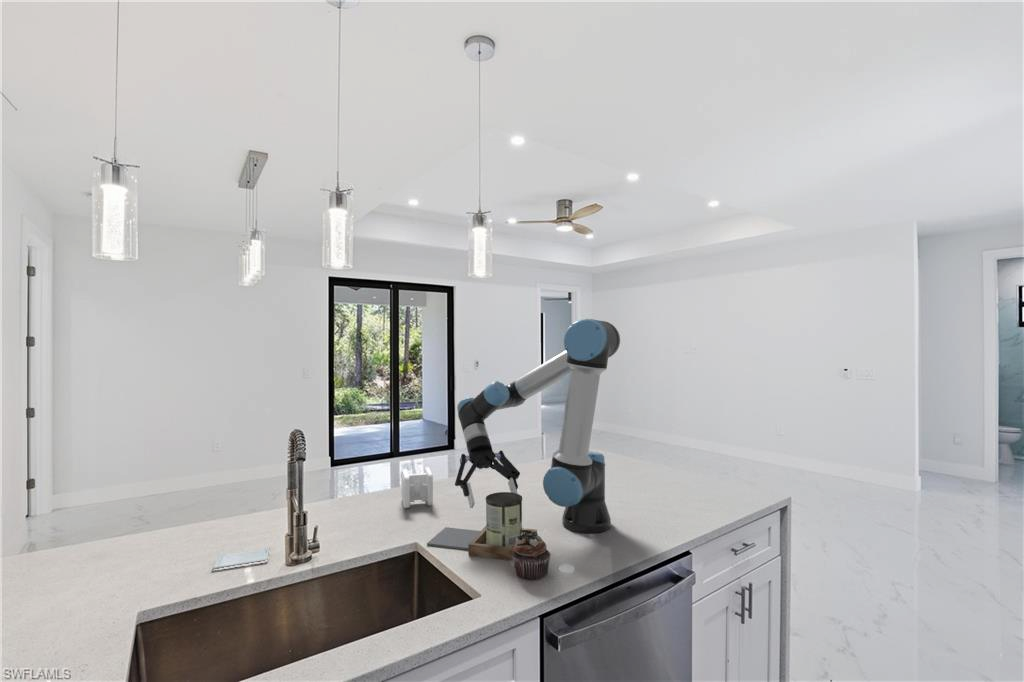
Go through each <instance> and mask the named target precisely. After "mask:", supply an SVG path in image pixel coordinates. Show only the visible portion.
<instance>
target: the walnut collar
mask: <svg viewBox="0 0 1024 682" xmlns="http://www.w3.org/2000/svg"><path fill="white" fill-rule="evenodd" d="M524 530H526V531H528V532H530V533H529V535H531V532H537V533H538V529H535V528H523V527H522V533H523V531H524ZM480 531H481V532H480V533H479V534H478V535H477V536H476V537H475V538H474V539H473V540H472V541H471V542H470V543H469V544H468V550H467V552H468V555H469V557H477V558H486V559H493V560H502V561H509V562H510V561H511V562H514V561H513V557H512V549H513V548H512V547H504V546H495V545H486V544H487V543H486V544H485V542H486V525H485V526H484V527H483V528H482V529H481V530H480Z"/></svg>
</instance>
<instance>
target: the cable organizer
mask: <svg viewBox="0 0 1024 682" xmlns="http://www.w3.org/2000/svg"><path fill="white" fill-rule="evenodd" d="M400 478H401V499H402V506H403V508H404V509H409V508H410V506H411V503H415V501H422V503H423V502H426V504H427V506H429V507H430V506H432V505H433V504H434V476H433V472H432V471H431V468H430V467H429V466H425V467H424V470H423V473H411V474H410V473H409V470H408V469H407V468H405V469H403V468H402V469H401V471H400Z"/></svg>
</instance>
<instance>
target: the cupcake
mask: <svg viewBox="0 0 1024 682" xmlns="http://www.w3.org/2000/svg"><path fill="white" fill-rule="evenodd" d="M529 533H530V532H528V531H526V530H524V531H523V533H521V536H518V537H517V538H516V542H515V544H514V546H513V549H512V557H513V561H512V562H513V565H514V571H515V576H517V578H519V579H521V580H525V581H539V580H542V579H544V578H546V577H547V575H548V570H549V564H550V559H551V552H550V551H549V550H548V549H547V544H546V542H545V541H544V540H543V539H542V537H541V536H540V535H539V534H538V531H537V532H531V535H529Z"/></svg>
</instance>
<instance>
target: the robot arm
mask: <svg viewBox="0 0 1024 682" xmlns="http://www.w3.org/2000/svg"><path fill="white" fill-rule="evenodd" d="M620 344H621V336H620V333H619V331H618V329H617V328H616V327H615V326H614V325H613V324H612V323H610V322H608V321H605V320H597V319H595V318H584V319H579V320H576V321H574V322H573V323H572V324H570V325H569V326H568V328H567V329H566V331H565V333H564V336H563V347H564V349H565V350H564V351H562V352H561V353H559V354H556V355H555V356H553V357H552V358H550V359H548V360H547V361H545V362H544V363H542V364H540V365H538V366H537V367H536V368H534V369H532V370H531V371H529V372H526V374H524V375H522V376H521V377H518V379H516V380H513V381H512V382H510V383H508V384H507V385H505V384H504V383H503V382H500V381H497V380H496V381H493V382H491V383H490V384H488V385H487V386H486V387H485V388H484V389H483V390H482V391H481V392H480V393H479V394H477V396H476V397H475V398H474V397H466V398H465V399H461V400H460V401H459V402H458V403H457V407H456V408H457V417H458V419H459V423H460V426H461V429H462V433H463V438H464V441H465V444H466V449H467V452H468V455H466V454H465V453H462V454H461V456H460V458H459V463H460V465H459V468H458V472H457V475H456V479H455V482H454V486H455V487H460V488H461V490H462V493H463V496H464V497H467V500H468V504H469V508H470V509H473V508H474V506H475V505H476V501H475V498H474V495H473V491H472V490H473V489H472V486H471V482H469V480H470V479H471V477H472V476H473V474H474V472H475V470H476V468H477V469H479V470H483V469H490V468H491V469H492V470H495V471H496V472H497V473H498V474H500V475H501V476H502V477H504V478H505V479H506V480H508V482H507V484H508V487H509V491H510V492H511V493H516V494H519V493H518V491H517V490H518V488H519V484H518V482H517V480H518V479H519V477H520V475H521V473H520V471H519V470H518V469H517V468H516V466H515V465H513V463H512V462H511V461H510V460H509V459H508V458H507V457H506V456H505V453H504V451H503V450H499V451H498V452H494V451H493V447H492V444H491V441H490V438H489V434H488V429H487V427H486V424H485V420H486V419H488V418H489V417H490V416H491V415H492V414H493V413H494V412H496V411H499V410H504V409H509V408H516V407H519V406H521V405H523V404H524V403H525V401H526V400H528V399H529V398H532V397H533V396H536V395H537V394H538V393H541V392H542V391H543V390H545V389H548V388H549V387H551V386H553V385H554V384H557V383H558V382H559V381H561V380H564V379H565V378H566V377H568V376H569V379H568V387H567V394H566V397H565V399H566V400H565V405H564V411H563V419H562V425H561V432H560V433H561V434H560V440H559V446H558V449H557V450H556V451H555V452H553V454H552V459H551V465H550V468H549V469H548V470H547V471H546V473H545V474H544V476H543V478H542V479H543V480H542V486H543V491H544V493H545V494H546V496H547V498H548V499H549V501H551V503H553V504H555V505H557V507H558V506H559V507H562V508H564V510H563V513H562V526H563V527H564V528H566V529H568V530H569V531H573V532H576V533H580V534H581V533H582V534H583V533H584V534H596V533H603V532H606V531H608V530H609V529H610V528H611V527H612V525H611V524H612V523H611V522H612V521H611V520H612V519H611V516H610V513H609V509H608V507H607V503H606V499H605V498H606V481H605V480H606V479H605V478H606V472H605V471H606V463H605V455H604V454H603V453H601V452H596V451H589V450H590V445H591V437H592V431H593V425H594V419H595V412H596V411H595V410H596V404H597V397H598V391H599V386H600V379H601V378H600V377H601V375H602V373H603V372H605V371H606V370H607V368H608V362H609V358H610V357H612V356H614V355H615V354H616V353H617V352H618V349H619V347H620ZM468 461H469V462H470V463H471V464H472V465H471V466H470V468H469V470H468V472H467V473H466V475H465V476H464V478H463V479H462V477H463V473H464V470H465V466H466V464H467V463H468Z"/></svg>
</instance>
